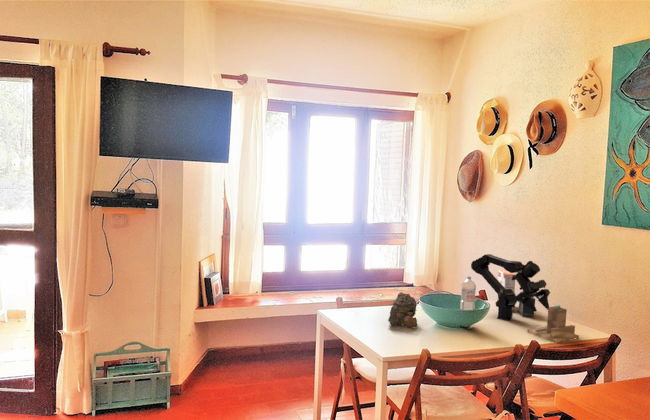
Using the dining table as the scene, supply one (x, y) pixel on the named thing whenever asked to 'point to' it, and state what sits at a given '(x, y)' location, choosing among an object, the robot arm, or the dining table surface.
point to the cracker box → (506, 281)
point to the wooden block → (556, 317)
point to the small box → (526, 309)
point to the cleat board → (555, 333)
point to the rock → (403, 311)
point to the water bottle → (468, 295)
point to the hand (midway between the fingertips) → (542, 310)
